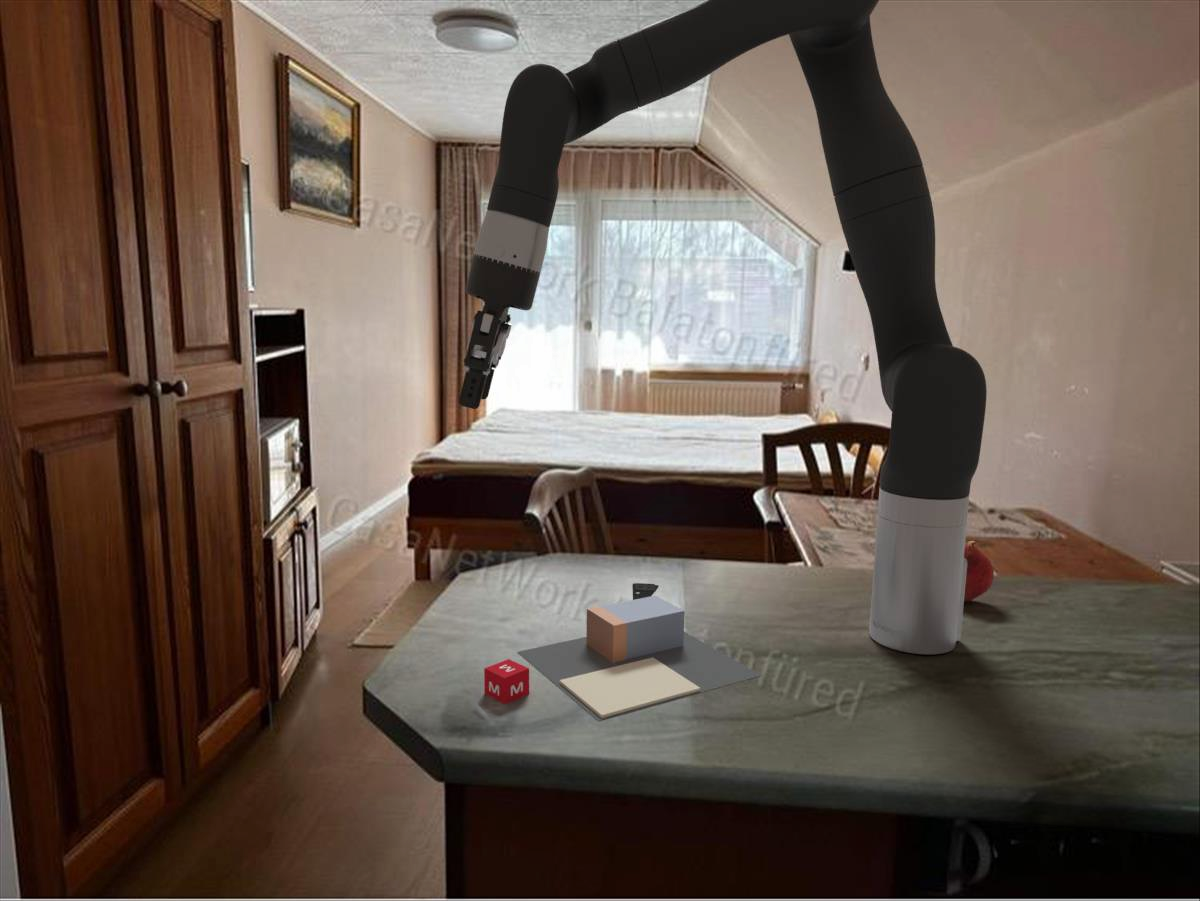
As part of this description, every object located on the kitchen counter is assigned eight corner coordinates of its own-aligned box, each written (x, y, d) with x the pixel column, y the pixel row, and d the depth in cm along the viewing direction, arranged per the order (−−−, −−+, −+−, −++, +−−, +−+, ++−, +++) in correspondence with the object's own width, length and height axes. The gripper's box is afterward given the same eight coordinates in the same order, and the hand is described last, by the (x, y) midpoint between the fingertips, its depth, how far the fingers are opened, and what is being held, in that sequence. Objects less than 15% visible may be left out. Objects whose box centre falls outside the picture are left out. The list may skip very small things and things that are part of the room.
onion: (987, 612, 101) (993, 550, 99) (938, 603, 104) (943, 543, 102) (993, 599, 106) (999, 539, 104) (946, 590, 109) (951, 533, 107)
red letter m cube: (484, 698, 76) (484, 668, 76) (509, 687, 79) (508, 658, 78) (504, 708, 74) (504, 678, 74) (529, 698, 77) (529, 668, 76)
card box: (654, 629, 93) (655, 595, 92) (683, 646, 88) (684, 610, 87) (586, 644, 88) (586, 608, 87) (613, 662, 83) (613, 625, 83)
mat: (663, 623, 95) (663, 617, 95) (761, 679, 81) (761, 672, 81) (516, 655, 86) (516, 649, 86) (598, 725, 71) (598, 717, 71)
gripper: (538, 267, 82) (499, 420, 85) (543, 271, 96) (510, 402, 99) (466, 247, 82) (429, 401, 84) (482, 254, 96) (450, 386, 98)
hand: (473, 402), depth 92 cm, fingers open, 8 cm apart
